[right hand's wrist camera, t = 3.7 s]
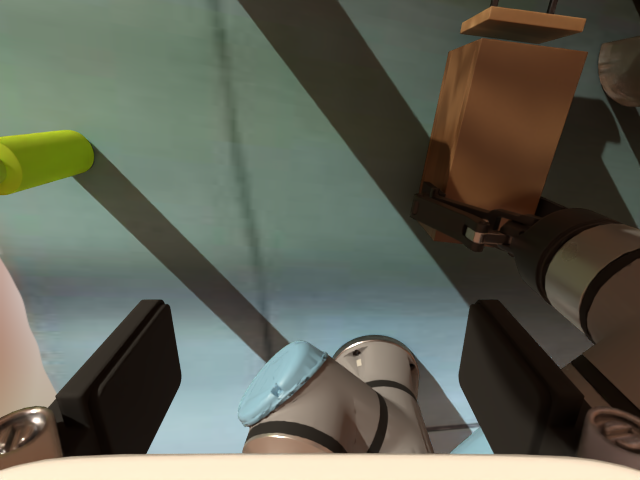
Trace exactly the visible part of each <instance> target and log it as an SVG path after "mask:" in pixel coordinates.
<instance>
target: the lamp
mask: <svg viewBox="0 0 640 480" xmlns="http://www.w3.org/2000/svg"><path fill="white" fill-rule="evenodd" d="M598 73H599V78H600V82H601V84H602V86H603V89H604V90H605V92H606V93H607V94H608V96H609V97H611V98H612V99H613V100H614V101H615V102H617V103H619V104H621V105H624V106H628V107H640V36H635V37H631V38H626V39H621V40H617V41H612V42H607V43H603V44H602V46H601V49H600V53H599V60H598Z"/></svg>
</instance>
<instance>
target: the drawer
mask: <svg viewBox="0 0 640 480" xmlns="http://www.w3.org/2000/svg"><path fill="white" fill-rule="evenodd" d="M498 1H499V0H491V4H490V8H488V9H486V10H484V11H483V12H481V13H479V14H477V15H476V16H474V17H472V18H470V19H469V20H467V21H465V22H463V23H462V27H461V32H460V34H466V35H474V36H482V37H489V38H497V39H505V40H512V41H520V42H527V43H535V44H540V43H543V42H547V41H551V40H554V39H558V38H561V37H565V36H569V35H572V34H576V33H580V32H582V31H583V28H584V25H585V22H586V19H583V18H576V17H569V16H561V15H554V12H555V9H556V5H557V2H558V0H550V3H549V6H548V10H547V13H539V12H531V11H524V10H516V9H509V8H502V7H497V5H498ZM492 40H494V39H492ZM561 49H563V48H561Z"/></svg>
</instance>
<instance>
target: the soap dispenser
mask: <svg viewBox="0 0 640 480" xmlns="http://www.w3.org/2000/svg"><path fill="white" fill-rule="evenodd" d="M93 161H94V152H93V149H92V146H91V144H90V143H89V141H88V140H87V139H86V138H85V137H84V136H82V135H81V134H79V133H77V132H75V131H71V130H62V131H53V132H43V133H34V134H24V135H15V136H5V137H0V195H8V194H12V193H15V192H18V191H22V190H25V189H29V188H32V187H36V186H39V185H42V184H46V183H49V182H53V181H56V180H60V179H63V178H66V177H70V176H73V175H77V174H80V173H83V172H86V171H87V170H89V169H90V168H91V166H92V164H93Z"/></svg>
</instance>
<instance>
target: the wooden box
mask: <svg viewBox="0 0 640 480" xmlns="http://www.w3.org/2000/svg"><path fill="white" fill-rule="evenodd" d="M587 54H588V52H584V51H576V50H568V49H561V48H553V47H545V46H538V45H530V44H522V43H515V42H507V41H499V40H492V39H484V38H481V39H479V40H477V41H474V42H472V43H469V44H467V45H464V46H462V47H459V48H457V49H454V50H452V51H450V52H449V53H448V57H447V62H446V67H445V72H444V76H443V81H442V86H441V91H440V95H439V100H438V105H437V109H436V114H435V119H434V124H433V128H432V133H431V138H430V142H429V147H428V152H427V157H426V161H425V166H424V171H423V175H422V180H421V185H420V190H419V194H421V191H422V186H423V181H426V182H430V183H432V184H433V185H434V186H436V187H437V188H440V190H441V191H442V192H443V193H445V194H446V196H445V198H449V199H452V200H455V201H459V202H462V203H465V204H469V205H472V206H476V207H479V208H482V209H486V210H489V211H491V210H495V209H504V210H508V211H511V212H515V213H518V214H522V215H525V214H532V215H534V214H535V211H536V208H537V205H538V202H539V199H540V196H541V193H542V190H543V187H544V184H545V181H546V178H547V175H548V172H549V169H550V166H551V163H552V160H553V157H554V154H555V151H556V148H557V145H558V142H559V139H560V136H561V133H562V130H563V127H564V124H565V121H566V118H567V115H568V112H569V109H570V106H571V103H572V100H573V97H574V93H575V90H576V87H577V84H578V81H579V78H580V75H581V72H582V69H583V66H584V63H585V60H586V57H587ZM508 220H509V219H506V218H502V219H501V222H500V225H499V229H498V231H500V228H501V227H502V226H503V225H504V224H505V223H506V222H507V221H508ZM418 222H419V221H418ZM419 223H420V225H421V226H422V227H423V228H424V229H425V231H426V232H427V233H428V234H429V236H430V237H431V238H432V239H433V240H434V241H440V242H450V243H459V244H462V243H461V242H460V241H458V240H456V239H454V238H452V237H450V236H448V235H446V234H444V233H442V232H440V231H437V230H435V229H433V228H431V227H429V226H427V225H425V224H423V223H421V222H419ZM484 246H486V247H492V246H489V245H487V244H484Z"/></svg>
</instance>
